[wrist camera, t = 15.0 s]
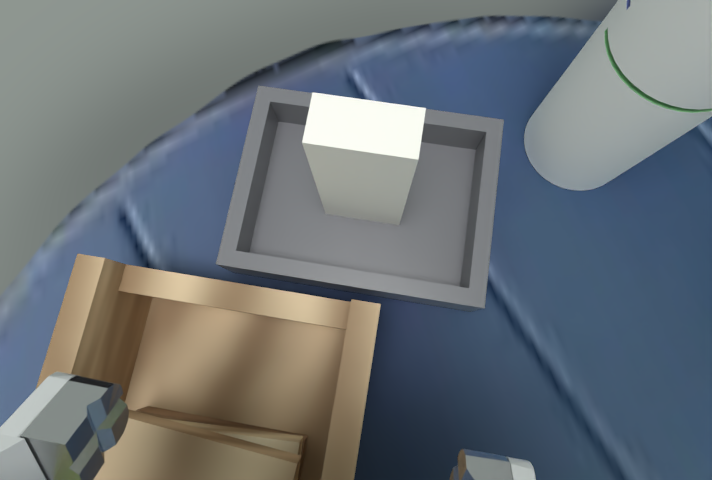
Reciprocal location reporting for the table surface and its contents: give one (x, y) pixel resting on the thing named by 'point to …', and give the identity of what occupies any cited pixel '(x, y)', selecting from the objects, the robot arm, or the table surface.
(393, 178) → the white upright pillar
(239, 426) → the offcut bottom
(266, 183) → the charcoal tray
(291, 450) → the offcut middle
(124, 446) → the offcut top
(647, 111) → the cylindrical container
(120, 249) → the table surface
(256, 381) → the tray
